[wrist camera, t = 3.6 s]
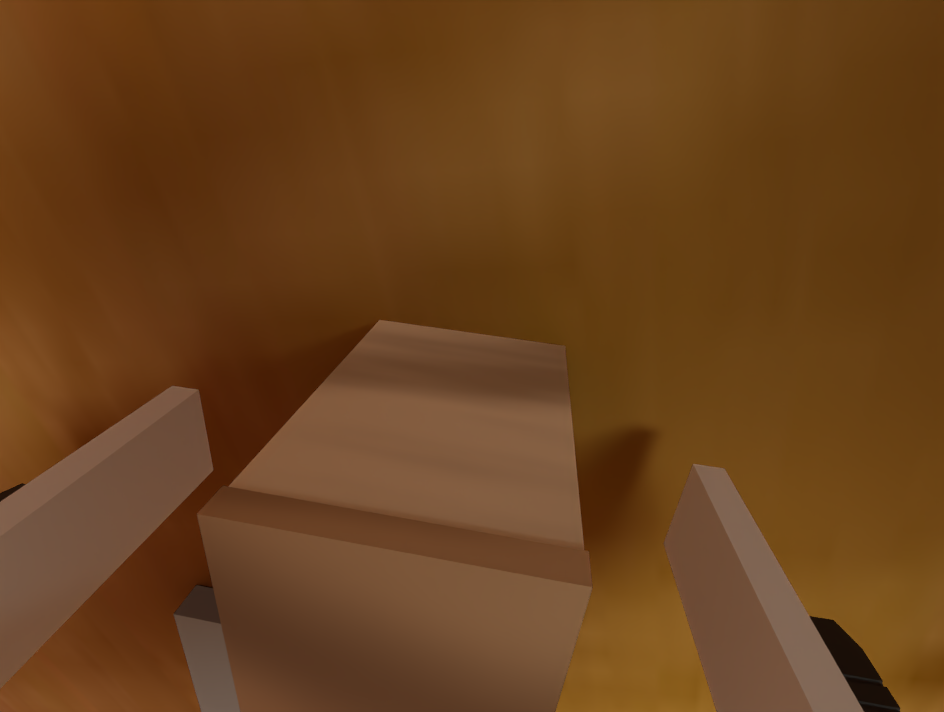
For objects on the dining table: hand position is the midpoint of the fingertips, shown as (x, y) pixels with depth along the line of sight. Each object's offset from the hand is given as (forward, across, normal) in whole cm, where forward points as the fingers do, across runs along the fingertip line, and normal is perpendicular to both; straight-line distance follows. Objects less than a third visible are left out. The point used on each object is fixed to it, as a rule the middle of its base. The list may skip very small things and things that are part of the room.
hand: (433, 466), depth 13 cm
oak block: (+3, 0, 0) cm, 3 cm away
